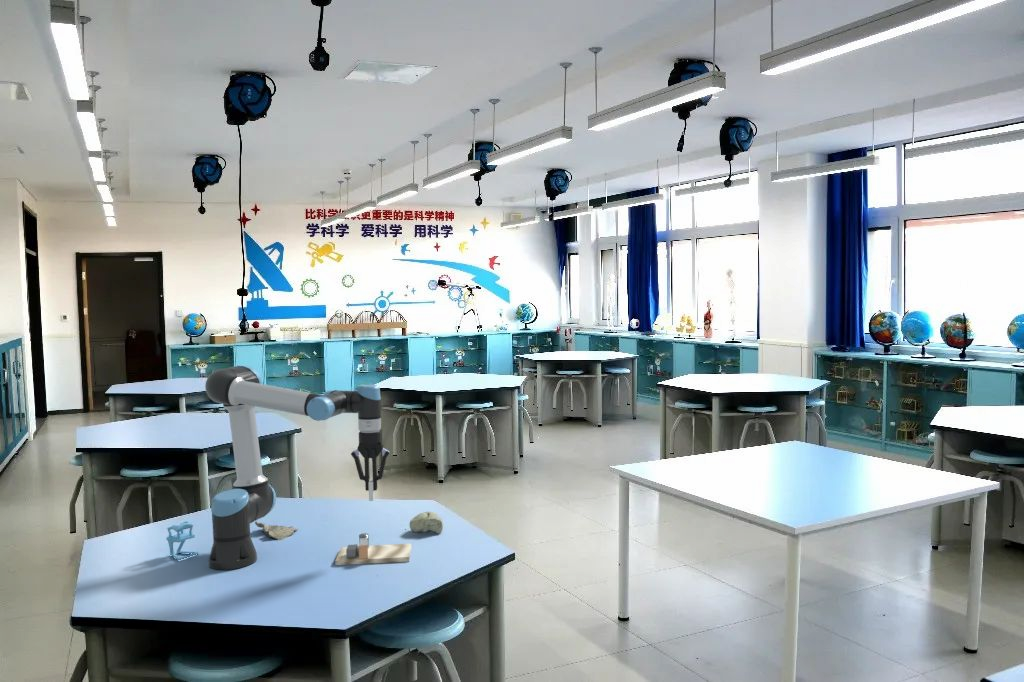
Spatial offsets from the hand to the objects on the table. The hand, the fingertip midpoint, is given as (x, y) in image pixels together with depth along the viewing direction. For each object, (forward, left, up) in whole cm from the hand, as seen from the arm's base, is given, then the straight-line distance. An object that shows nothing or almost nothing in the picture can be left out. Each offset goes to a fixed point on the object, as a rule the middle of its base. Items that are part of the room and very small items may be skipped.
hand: (371, 499), depth 258 cm
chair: (-67, +9, -19) cm, 70 cm away
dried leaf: (-40, +30, -20) cm, 54 cm away
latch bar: (-3, -1, -17) cm, 18 cm away
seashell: (+17, +23, -19) cm, 35 cm away
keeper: (-7, -4, -18) cm, 19 cm away
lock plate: (0, -1, -19) cm, 19 cm away
